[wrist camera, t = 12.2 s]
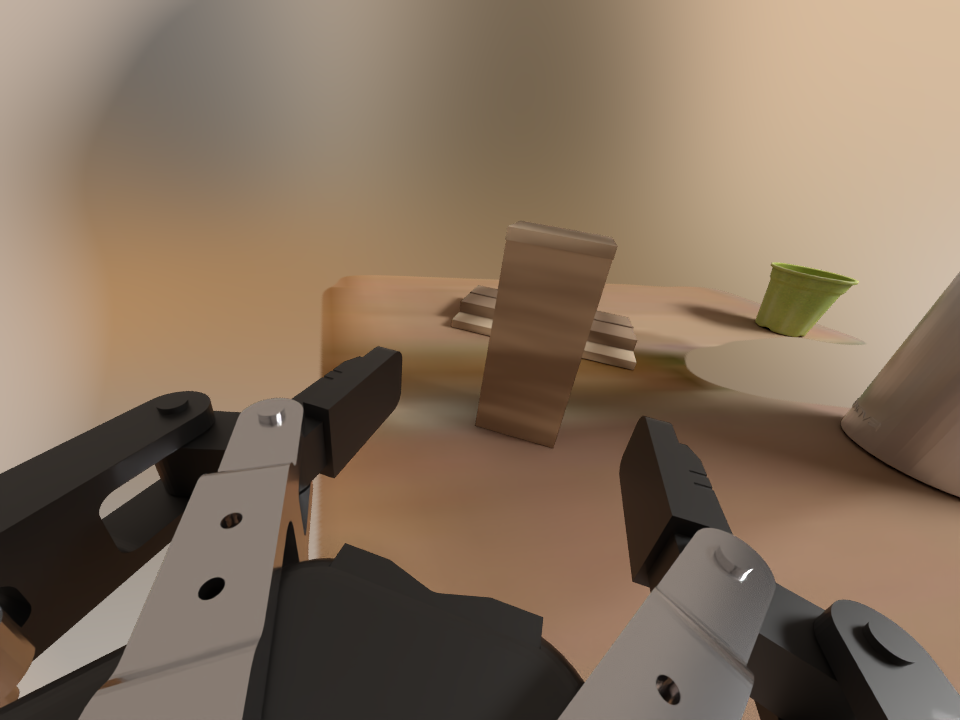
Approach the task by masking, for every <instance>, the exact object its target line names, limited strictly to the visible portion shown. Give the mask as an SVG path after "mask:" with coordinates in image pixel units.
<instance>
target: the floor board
mask: <svg viewBox="0 0 960 720" xmlns="http://www.w3.org/2000/svg"><path fill="white" fill-rule="evenodd" d="M497 292H498V289H493V288H489V287H484V286H479V285H478V286H477V287H476V288H475V289H474V290H473V291H472V292H470V293H469V294H468V295H467V296H466V297H465V298H464V299H463V300H462V301H461V305H460V312H459V313H458V314H457V315H456V316H455V317H454V318H453V319H452V324H451V327H455V328H459V329H463V330H467V331H472V332H476V333H480V334H484V335H488V336H490V334H491V328H492V322H493V316H494V310H495V304H496V298H497ZM636 343H637V338H636V335H635V333H634V330H633V327H632V324H631V322H630V319H629V317H624V316H620V315H615V314H610V313H606V312H601V311H596V314H595V317H594V320H593V323H592V327H591V330H590V333H589V336H588V339H587V342H586V346H585V349H584V352H583V355H582V358H585V359H589V360H594V361H598V362H602V363H606V364H610V365H615V366H619V367H623V368H627V369H631V370H634V368H635V365H636V359H635V356H634V353H633V350H634V348H635V345H636Z"/></svg>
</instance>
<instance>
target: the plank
mask: <svg viewBox="0 0 960 720" xmlns="http://www.w3.org/2000/svg"><path fill="white" fill-rule="evenodd" d="M616 250H617V244H616V243H615V241H614V239H613V238H612V237H609V236H603V235H597V234H592V233H586V232H581V231H575V230H570V229H564V228H558V227H552V226H547V225H542V224H536V223H530V222H525V221H518V222H516V223H514V224H512V225H510V226H508V228H507V234H506V244H505V250H504V256H503V262H502V268H501V275H500V280H499V286H498V292H497V298H496V304H495V310H494V316H493V322H492V328H491V334H490V340H489V346H488V352H487V358H486V364H485V370H484V376H483V382H482V388H481V394H480V400H479V406H478V411H477V417H476V423H475V426H479V427H482V428H486V429H489V430H492V431H496V432H499V433H503V434H506V435H510V436H513V437H516V438H520V439H523V440H527V441H530V442H534V443H537V444H540V445H544V446H547V447H551V448H553V447H554V444H555V441H556V438H557V434H558V431H559V428H560V425H561V422H562V419H563V415H564V412H565V409H566V406H567V403H568V400H569V396H570V393H571V390H572V387H573V384H574V380H575V377H576V374H577V371H578V368H579V365H580V361H581V358H582V355H583V352H584V349H585V346H586V342H587V339H588V336H589V333H590V330H591V327H592V323H593V320H594V317H595V314H596V311H597V307H598V304H599V301H600V298H601V295H602V292H603V288H604V285H605V282H606V279H607V276H608V272H609V269H610V266H611V263H612V260H613V259H614V256H615V253H616Z"/></svg>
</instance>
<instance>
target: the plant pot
mask: <svg viewBox="0 0 960 720" xmlns="http://www.w3.org/2000/svg"><path fill="white" fill-rule="evenodd" d="M771 266H772V267H773V268H772V272H771V275H770V277H771V280H770V282H769V285H768V288H767V291H766V293H765V296H764V299H763V302H762V304H761V307H760V309H759V312H758V315H757V318H756V320H755V322H756V323H757V324H758V325H759V326H762V327H768V328H769V329H770V330H771V331H773V332H775V333H778V334H783V335H787V336H791V337H798V336H802V337H804V336H805V335H806V334H807V333H808V332H809V330H810V329H811V328H812V327H813V326H814V325H815V324H816V322H817V321H818V320H819V319H820V318H821V316H822V315H823V314H824V313H825V312H826V311H827V310H828V309H829V307H830V306H831V305H832V304H833V303H834V302H835V301H836V300H837V299H838V297H840V295H842V294H844V293H845V292H846V291H847V290H848V289H849V288H850V287H851V286H852V285H856V284H858V283H859V281H857V280H855V279H853V278H850V277H846V276H843V275H839V274H835V273H831V272H827V271H822V270H818V269H813V268H809V267H804V266H798V265H792V264H785V263H772V264H771Z"/></svg>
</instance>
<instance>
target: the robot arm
mask: <svg viewBox="0 0 960 720" xmlns="http://www.w3.org/2000/svg"><path fill="white" fill-rule="evenodd" d="M401 377H402V354H401V353H400V352H399V351H395V350H391V349H387V348H383V347H380V346H378V347H376V348H374V349H373V350H372V351H370V352H369V353H368V354H366V355H365V356H364V357H360V356H359V357H356V358H353V359H350V360H348V361H345V362H343V363H342V364H340V365H339V366H337V367H336V368H335V369H333V371H330V372H329V373H328V374H326V375H325V376H324V378H320V379H319V380H318V381H316V382H315V383H313V384H312V385H311V386H309V387H308V388H306V389H305V390H304V391H302V392H301V393H299V394H298V395H296V396H295V397H294V398H292V399H287V398H273V399H267V400H263V401H259V402H257V403H254V404H252V405H250V406H249V407H247V408H246V409H244V410H243V411H242V412H240V413H239V412H223V411H213V409H212V405H211V401H210V398H209V397H208V396H207V395H206V394H203V393H200V392H194V391H185V392H184V391H183V392H175V393H170V394H166V395H163V396H159V397H157V398H154V399H152V400H150V401H148V402H146V403H144V404H142V405H140V406H138V407H136V408H134V409H131V410H129V411H127V412H125V413H123V414H122V415H119V416H117V417H115V418H113V419H111V420H109V421H107V422H105V423H103V424H101V425H99V426H97V427H95V428H93V429H91V430H89V431H87V432H85V433H83V434H81V435H79V436H77V437H75V438H73V439H71V440H69V441H66V442H64V443H62V444H60V445H59V446H56V447H54V448H52V449H50V450H48V451H46V452H44V453H42V454H40V455H38V456H36V457H34V458H32V459H30V460H28V461H26V462H24V463H22V464H20V465H18V466H16V467H14V468H11V469H9V470H7V471H5V472H4V473H1V474H0V720H741V719H742V716H743V713H744V711H745V708H746V705H747V702H748V699H749V697H751V698H752V699H754V701H755V704H756V707H757V710H758V713H759V716H760V719H761V720H960V695H959V694H958V693H957V691H956V690H955V689H954V687H953V686H952V684H951V683H950V682H949V680H948V679H947V678H946V676H945V675H944V674H943V672H942V671H941V669H940V668H939V667H938V665H937V664H936V663H935V661H934V660H933V659H932V658H931V656H930V655H929V654H928V653H927V652H926V651H925V649H924V648H923V647H922V646H921V645H920V644H919V643H918V642H917V641H916V640H915V639H914V638H913V637H912V636H910V635H909V634H908V633H907V632H906V631H904V630H903V629H902V628H901V627H899V626H898V625H897V624H896V623H894V622H893V621H891V620H890V619H888V618H887V617H885V616H884V615H882V614H881V613H879V612H877V611H876V610H874V609H872V608H870V607H868V606H866V605H863V604H861V603H858V602H855V601H851V600H838V601H836V602H834V603H833V604H832V605H831V606H830V607H829V608H828V609H826V610H823V609H822V608H820V607H818V606H816V605H814V604H813V603H811V602H809V601H807V600H806V599H804V598H802V597H800V596H798V595H797V594H795V593H793V592H791V591H789V590H788V589H786V588H784V587H782V586H781V585H779V584H777V583H776V582H775V579H774V576H773V574H772V572H771V570H770V568H769V567H768V565H767V564H766V562H765V561H764V560H763V559H762V557H761V556H760V555H759V554H758V553H757V552H756V551H755V550H754V549H752V548H751V547H750V546H749V545H748V544H746V543H745V542H744V541H742V540H740V539H739V538H737V537H736V536H734V535H733V534H732V532H731V530H730V527H729V525H728V523H727V520H726V518H725V516H724V513H723V511H722V509H721V507H720V504H719V502H718V500H717V497H716V495H715V493H714V491H713V490H712V486H711V483H710V481H709V479H708V478H707V477H706V476H707V474H706V472H705V470H704V467H703V465H702V463H701V460H700V459H699V458H698V457H697V456H696V455H695V454H694V452H693V451H692V450H691V449H690V448H689V447H688V446H687V445H684V444H680V443H679V442H678V439H677V437H676V434H675V431H674V429H673V426H672V424H671V423H668V422H665V421H661V420H657V419H653V418H649V417H645V416H642V417H641V418H640V419H639V421H638V423H637V425H636V427H635V429H634V432H633V434H632V436H631V438H630V441H629V443H628V445H627V447H626V450H625V452H624V454H623V457H622V460H621V464H620V472H619V476H620V485H621V493H622V501H623V509H624V517H625V525H626V533H627V541H628V550H629V558H630V566H631V574H632V582H635V583H638V584H641V585H644V586H647V587H650V592H651V593H650V595H649V596H648V597H647V599H646V600H645V601H644V603H643V604H642V605H641V607H640V608H639V609H638V611H637V612H636V614H635V615H634V616H633V618H632V619H631V620H630V622H629V623H628V624H627V626H626V627H625V629H624V630H623V631H622V633H621V634H620V635H619V637H618V638H617V639H616V641H615V642H614V644H613V645H612V646H611V648H610V649H609V650H608V652H607V653H606V654H605V656H604V657H603V658H602V660H601V661H600V663H599V664H598V665H597V667H596V668H595V669H594V671H593V672H592V673H591V675H590V676H589V678H588V679H587V680H586V682H584V681H583V679H582V678H581V677H580V675H579V674H578V673H577V671H576V670H575V669H574V667H573V666H572V665H571V664H570V663H569V662H568V660H567V659H566V658H565V657H564V656H563V655H562V654H561V653H560V652H559V651H558V650H557V649H556V648H555V647H554V646H552V645H551V644H550V643H549V642H548V641H546V640H545V639H544V638H542V637H541V635H542V624H543V617H541V616H538V615H535V614H533V613H530V612H527V611H525V610H522V609H519V608H517V607H514V606H511V605H509V604H506V603H503V602H501V601H498V600H495V599H493V598H488V597H477V596H465V595H453V594H441V593H435V592H433V591H431V590H429V589H428V588H427V587H425V586H424V585H423V584H421V583H420V582H419V581H417V580H416V579H415V578H413V577H412V576H411V575H409V574H408V573H407V572H405V571H404V570H403V569H401V568H400V567H399V566H397V565H396V564H395V563H393V562H392V561H391V560H389V559H386V558H383V557H381V556H378V555H375V554H373V553H370V552H367V551H365V550H362V549H359V548H357V547H354V546H351V545H349V544H346V543H345V544H344V546H343V547H342V549H341V550H340V551H339V553H338V554H337V556H336V557H335V558H323V559H312V560H308V544H309V531H310V517H311V506H312V492H313V484H312V480H313V479H314V478H315V477H316V476H317V475H318V474H319V473H320V474H323V475H326V476H329V477H332V478H335V477H336V476H337V475H338V474H339V472H340V471H341V470H342V469H343V468H344V467H345V466H346V464H347V463H348V462H349V461H350V460H351V459H352V458H353V456H354V455H355V454H356V453H357V452H358V451H359V449H360V448H361V447H362V446H363V445H364V444H365V443H366V441H367V440H368V439H369V438H370V437H371V436H372V435H373V433H374V432H375V431H376V430H377V429H378V428H379V427H380V425H381V424H382V423H383V422H384V421H385V420H386V419H387V417H388V416H389V415H390V414H391V413H392V412H393V411H394V409H395V408H396V406H397V404H398V402H399V399H400V395H401ZM841 426H842V429H843V430H844V431H845V433H846V434H847V435H848V436H849V437H850V438H851V439H852V440H853V441H855V442H856V443H857V444H858V445H859V446H861V447H862V448H864V449H865V450H866V451H868V452H869V453H871V454H872V455H874V456H875V457H877V458H879V459H880V460H882V461H883V462H885V463H887V464H888V465H890V466H892V467H894V468H896V469H898V470H900V471H901V472H903V473H905V474H907V475H909V476H911V477H913V478H915V479H917V480H920V481H922V482H924V483H926V484H928V485H930V486H933V487H935V488H938V489H940V490H942V491H945V492H947V493H950V494H953V495H956V496H958V497H960V272H959V274H958V275H957V276H956V277H955V278H954V280H953V281H952V282H951V284H950V285H949V286H948V288H947V289H946V290H945V291H944V292H943V294H942V295H941V296H940V297H939V299H938V300H937V301H936V302H935V304H934V305H933V306H932V307H931V309H930V310H929V311H928V312H927V314H926V315H925V316H924V318H923V319H922V320H921V321H920V322H919V324H918V325H917V326H916V327H915V329H914V330H913V331H912V332H911V334H910V335H909V336H908V338H907V339H906V340H905V341H904V342H903V344H902V345H901V346H900V347H899V349H898V350H897V351H896V353H895V354H894V355H893V356H892V358H891V359H890V360H889V361H888V363H887V364H886V365H885V366H884V368H883V369H882V370H881V371H880V372H879V374H878V375H877V376H876V378H875V379H874V380H873V381H872V383H871V384H870V385H869V386H868V387H867V389H866V390H865V391H864V393H863V394H862V395H861V396H860V397H859V398H858V399H857V400H856V401H855V403H854V404H853V405H852V408H851V409H850V410H849V411H848V413H847V414H846V415H845V416H844V418H843V419H842V420H841ZM154 464H155V466H156V469H157V471H158V473H159V476H160V478H161V479H160V480H158V481H157V482H155V483H154V484H152V485H151V486H149V487H148V488H147V489H145V490H144V491H142V492H141V493H139V494H138V495H136V496H135V497H134V498H132V499H131V500H129V501H128V502H127V503H125V504H123V505H122V506H121V507H119V508H118V509H116V510H115V511H113V512H112V513H110V514H109V515H108V516H106V517H105V518H103V519H102V520H101V518H100V516H99V509H100V506H101V504H102V502H103V501H104V500H105V498H106V497H107V496H108V495H109V494H110V493H111V492H113V491H114V490H115V489H117V488H118V487H120V486H121V485H123V484H124V483H126V482H128V481H129V480H130V479H132V478H134V477H135V476H137V475H138V474H140V473H142V472H143V471H145V470H146V469H148V468H149V467H151V466H152V465H154ZM170 542H171V544H170V546H169V548H168V551H167V553H166V555H165V558H164V560H163V562H162V565H161V567H160V569H159V572H158V574H157V576H156V579H155V581H154V583H153V586H152V588H151V590H150V593H149V595H148V597H147V600H146V602H145V604H144V606H143V609H142V611H141V613H140V616H139V618H138V620H137V623H136V625H135V627H134V630H133V632H132V634H131V637H130V639H129V641H128V644H127V645H125V646H123V647H121V648H119V649H117V650H115V651H113V652H111V653H109V654H107V655H105V656H103V657H101V658H99V659H97V660H95V661H93V662H91V663H89V664H87V665H85V666H83V667H81V668H79V669H77V670H75V671H73V672H71V673H69V674H67V675H65V676H63V677H61V678H59V679H57V680H55V681H53V682H51V683H49V684H47V685H45V686H43V687H41V688H39V689H37V690H35V691H33V692H31V693H29V694H27V695H25V696H23V697H21V698H19V699H18V697H19V689H18V687H17V686H16V685H17V684H18V683H19V682H20V681H21V679H22V678H23V676H24V675H25V673H26V672H27V670H28V668H29V667H30V665H31V663H32V661H33V660H35V659H36V658H37V657H38V656H39V655H40V654H42V653H43V652H44V651H45V650H46V649H47V648H48V647H50V646H51V645H52V644H53V643H54V642H55V641H57V640H58V639H59V638H60V637H61V636H62V635H63V634H64V633H66V632H67V631H68V630H69V629H70V628H72V627H73V626H74V625H75V624H76V623H77V622H78V621H80V620H81V619H82V618H83V617H84V616H85V615H87V614H88V613H89V612H90V611H91V610H92V609H93V608H95V607H96V606H97V605H98V604H99V603H100V602H102V601H103V600H104V599H105V598H106V597H107V596H109V595H110V594H111V593H112V592H113V591H114V590H115V589H117V588H118V587H119V586H120V585H121V584H122V583H124V582H125V581H126V580H127V579H128V578H129V577H130V576H132V575H133V574H134V573H135V572H136V571H138V570H139V569H140V568H141V567H142V566H143V565H144V564H145V563H147V562H148V561H149V560H150V559H151V558H153V557H154V556H155V555H156V554H157V553H158V552H159V551H161V550H162V549H163V548H164V547H165V546H166V545H167V544H169V543H170Z"/></svg>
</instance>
